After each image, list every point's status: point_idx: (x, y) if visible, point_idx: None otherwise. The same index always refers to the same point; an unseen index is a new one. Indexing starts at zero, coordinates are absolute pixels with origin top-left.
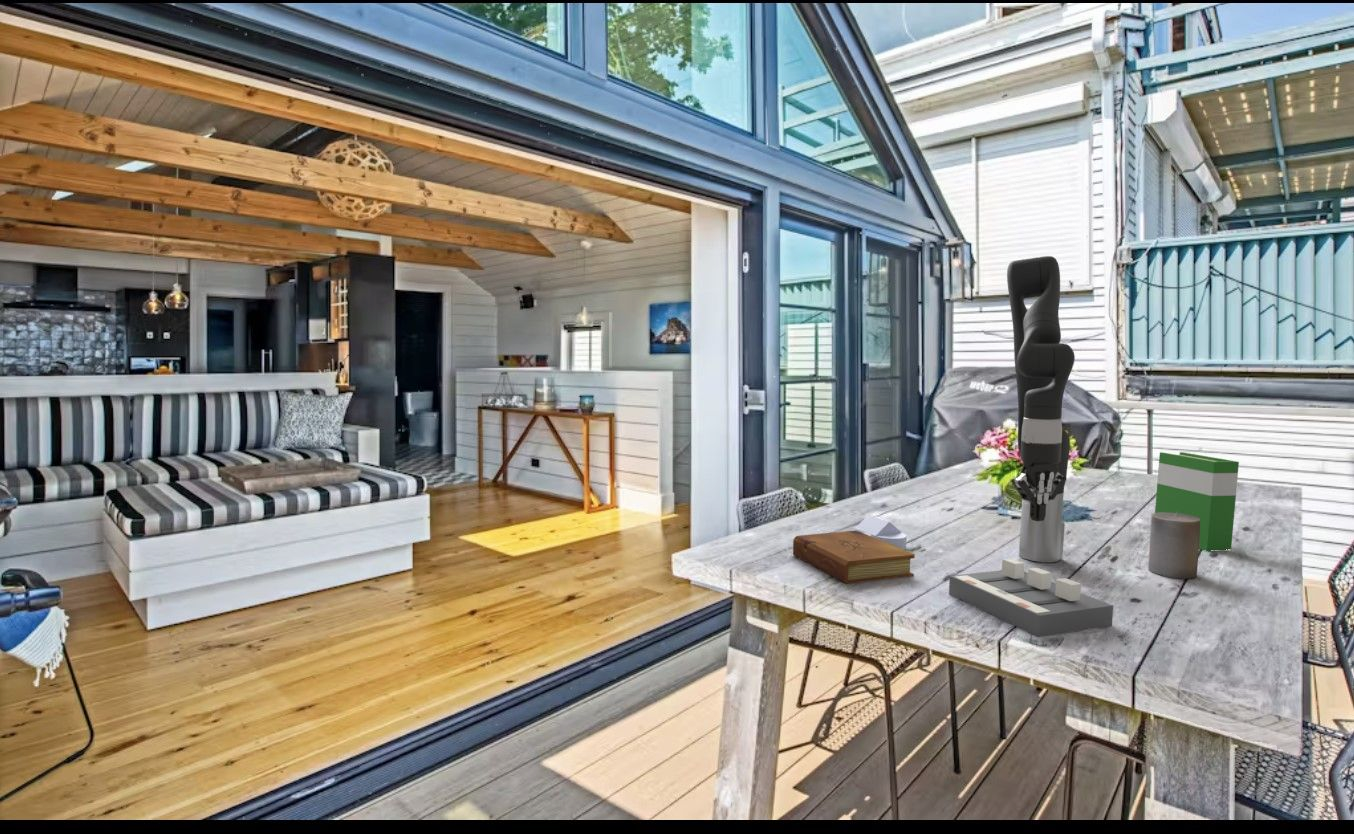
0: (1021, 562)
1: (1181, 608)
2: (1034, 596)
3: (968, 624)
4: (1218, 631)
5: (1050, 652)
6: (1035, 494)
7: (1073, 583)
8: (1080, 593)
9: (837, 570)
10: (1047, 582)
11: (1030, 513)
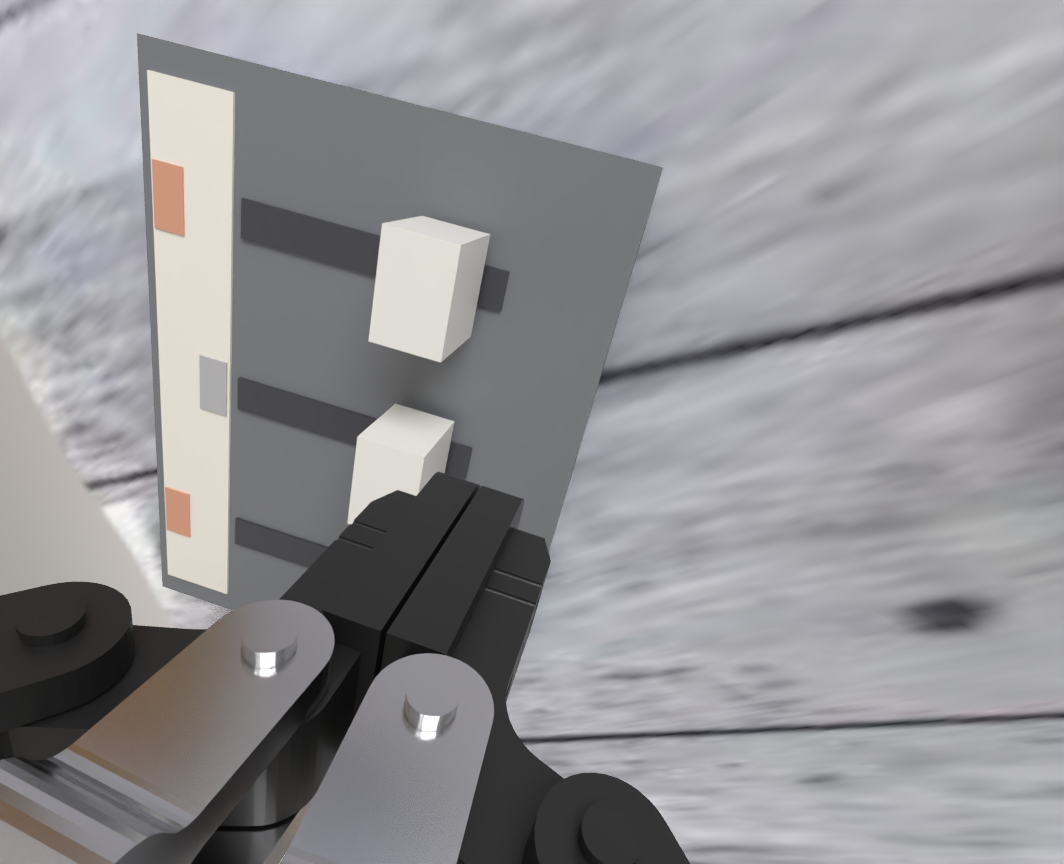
0: (436, 344)
1: (978, 745)
2: (307, 489)
3: (72, 357)
4: (779, 841)
5: (165, 603)
6: (324, 780)
7: None
8: None
9: None
10: None
11: (358, 523)
